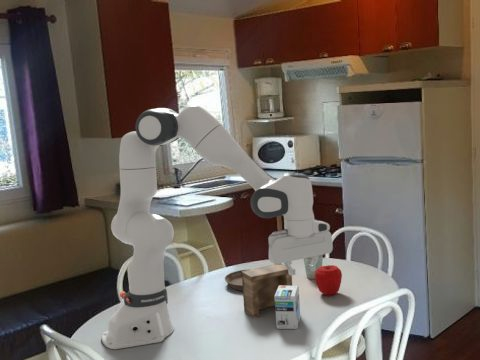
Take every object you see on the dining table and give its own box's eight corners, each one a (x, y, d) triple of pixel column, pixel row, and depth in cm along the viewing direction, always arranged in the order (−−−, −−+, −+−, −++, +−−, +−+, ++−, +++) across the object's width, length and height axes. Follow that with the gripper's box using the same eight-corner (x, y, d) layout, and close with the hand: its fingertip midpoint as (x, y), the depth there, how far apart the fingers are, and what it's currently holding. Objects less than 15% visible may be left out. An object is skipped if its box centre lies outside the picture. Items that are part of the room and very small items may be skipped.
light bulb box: (297, 329, 178) (295, 296, 177) (275, 329, 180) (273, 296, 178) (300, 316, 188) (299, 284, 187) (280, 316, 190) (278, 284, 188)
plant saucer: (279, 275, 234) (278, 267, 233) (277, 292, 214) (276, 284, 213) (228, 277, 236) (228, 269, 236) (222, 294, 216) (221, 286, 215)
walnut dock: (253, 317, 190) (251, 276, 188) (244, 311, 197) (241, 271, 195) (293, 308, 196) (291, 268, 194) (283, 301, 203) (280, 263, 201)
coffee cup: (299, 275, 231) (298, 246, 229) (319, 272, 233) (317, 243, 232) (308, 281, 223) (307, 251, 221) (328, 278, 225) (327, 248, 224)
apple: (330, 287, 214) (329, 259, 213) (348, 293, 206) (347, 264, 205) (310, 293, 209) (308, 264, 207) (327, 300, 201) (326, 270, 199)
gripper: (273, 234, 163) (276, 282, 165) (334, 223, 171) (336, 268, 173) (263, 230, 169) (266, 276, 171) (322, 220, 177) (325, 264, 179)
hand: (302, 272), depth 172 cm, fingers open, 5 cm apart
